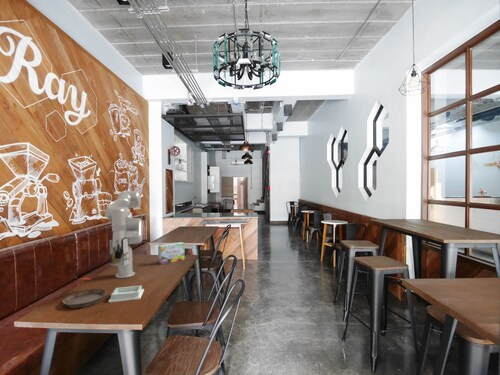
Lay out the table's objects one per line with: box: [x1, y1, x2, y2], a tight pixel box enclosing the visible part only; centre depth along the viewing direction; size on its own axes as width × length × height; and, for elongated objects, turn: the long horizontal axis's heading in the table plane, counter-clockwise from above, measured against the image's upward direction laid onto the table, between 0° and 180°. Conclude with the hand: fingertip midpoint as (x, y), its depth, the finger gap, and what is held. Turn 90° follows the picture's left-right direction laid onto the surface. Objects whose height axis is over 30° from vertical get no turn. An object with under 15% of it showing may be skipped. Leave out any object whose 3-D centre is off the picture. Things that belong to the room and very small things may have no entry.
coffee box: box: [108, 238, 130, 267], centre depth 167 cm, size 9×6×16 cm
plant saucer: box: [62, 288, 107, 309], centre depth 149 cm, size 21×21×3 cm
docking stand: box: [108, 285, 145, 303], centre depth 154 cm, size 13×16×4 cm
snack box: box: [157, 241, 185, 265], centre depth 226 cm, size 21×6×15 cm, turn 131°
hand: (119, 256), depth 167 cm, fingers closed on coffee box, 7 cm apart
